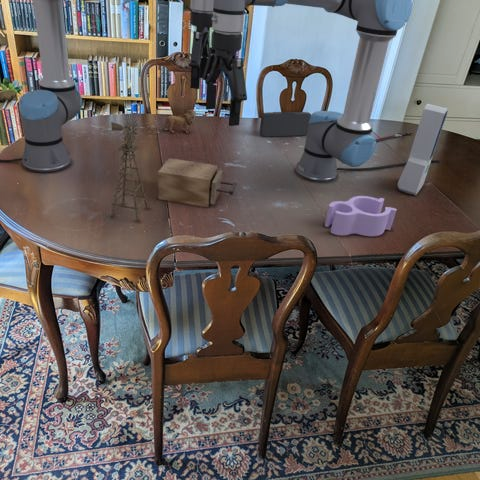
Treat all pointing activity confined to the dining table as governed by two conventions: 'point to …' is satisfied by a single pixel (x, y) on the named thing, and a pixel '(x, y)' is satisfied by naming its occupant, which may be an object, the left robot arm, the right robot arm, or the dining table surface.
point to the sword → (391, 136)
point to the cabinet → (186, 182)
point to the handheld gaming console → (284, 123)
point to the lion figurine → (180, 121)
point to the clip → (359, 216)
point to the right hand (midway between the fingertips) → (221, 116)
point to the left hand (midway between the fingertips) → (199, 83)
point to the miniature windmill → (125, 147)
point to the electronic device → (422, 149)
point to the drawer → (219, 187)
